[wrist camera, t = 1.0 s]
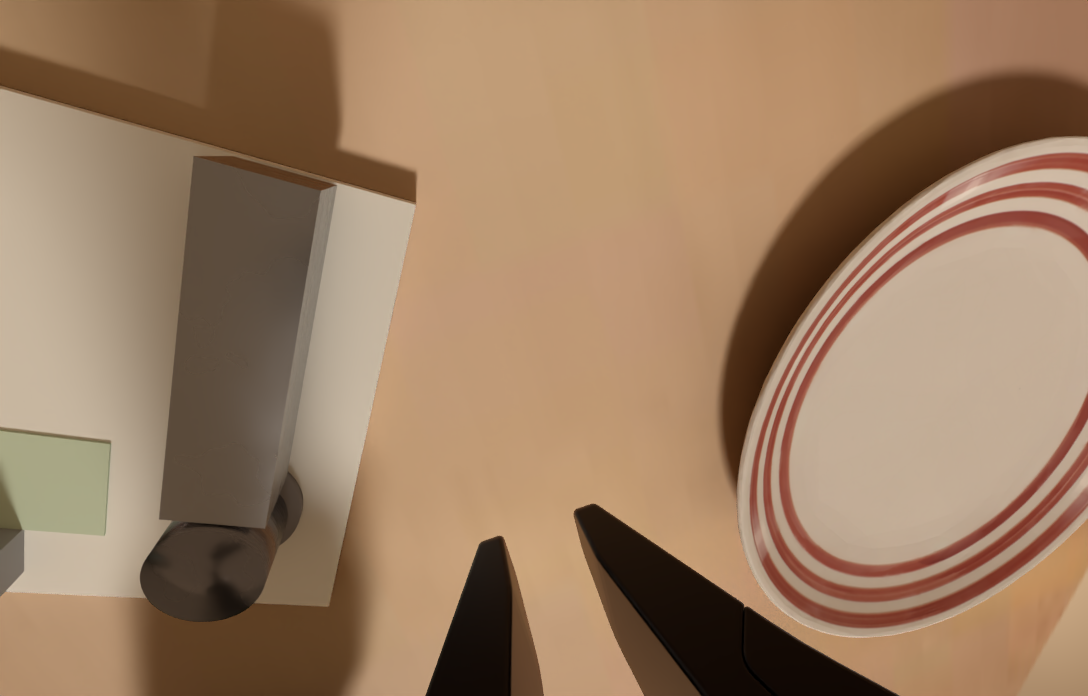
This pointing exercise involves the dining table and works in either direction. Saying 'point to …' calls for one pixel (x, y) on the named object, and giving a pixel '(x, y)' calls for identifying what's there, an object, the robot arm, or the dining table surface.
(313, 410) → the door board
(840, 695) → the robot arm
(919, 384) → the dinner plate
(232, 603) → the bar
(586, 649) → the dining table surface
